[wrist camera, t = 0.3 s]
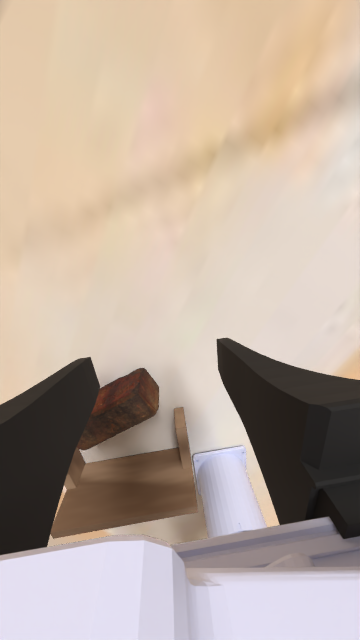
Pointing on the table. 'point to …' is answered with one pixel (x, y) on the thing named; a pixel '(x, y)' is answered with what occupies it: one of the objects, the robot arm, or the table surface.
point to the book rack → (128, 488)
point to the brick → (121, 407)
